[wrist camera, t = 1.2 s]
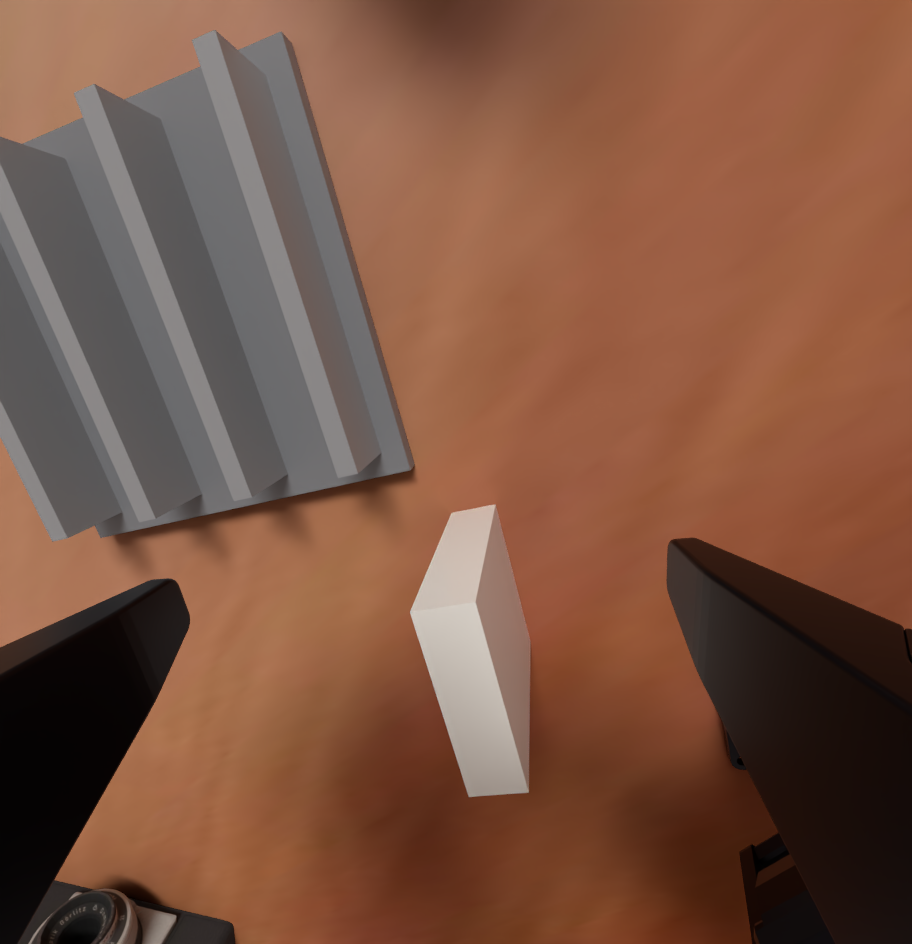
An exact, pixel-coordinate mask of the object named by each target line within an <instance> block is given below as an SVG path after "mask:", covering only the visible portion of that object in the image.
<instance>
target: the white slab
mask: <svg viewBox="0 0 912 944" xmlns="http://www.w3.org/2000/svg"><path fill="white" fill-rule="evenodd" d="M410 614H411V617H412V620H413V623H414V626H415V630H416V633H417V636H418V639H419V642H420V645H421V648H422V652H423V655H424V658H425V661H426V664H427V667H428V670H429V674H430V677H431V680H432V683H433V686H434V689H435V692H436V696H437V699H438V702H439V705H440V708H441V711H442V714H443V718H444V721H445V724H446V727H447V730H448V733H449V736H450V740H451V743H452V746H453V749H454V752H455V755H456V758H457V762H458V765H459V768H460V771H461V774H462V777H463V780H464V784H465V787H466V790H467V793H468V796H469V797H475V796H489V795H502V794H516V793H529V733H530V646H531V642H530V638H529V634H528V630H527V626H526V622H525V618H524V614H523V610H522V606H521V602H520V598H519V594H518V590H517V587H516V583H515V579H514V575H513V571H512V567H511V563H510V559H509V555H508V551H507V547H506V543H505V539H504V536H503V532H502V528H501V524H500V520H499V516H498V512H497V508H496V504H495V505H490V506H484V507H479V508H474V509H469V510H464V511H459V512H454V513H451V516H450V518H449V520H448V523H447V525H446V527H445V530H444V532H443V535H442V537H441V539H440V542H439V544H438V547H437V549H436V551H435V554H434V556H433V559H432V561H431V563H430V566H429V568H428V570H427V573H426V575H425V578H424V580H423V582H422V585H421V587H420V590H419V592H418V594H417V597H416V599H415V601H414V604H413V606H412V609H411V611H410Z"/></svg>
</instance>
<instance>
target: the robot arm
mask: <svg viewBox="0 0 912 944" xmlns="http://www.w3.org/2000/svg"><path fill="white" fill-rule="evenodd" d="M667 589H668V593H669V597H670V599H671V602H672V605H673V607H674V610H675V613H676V616H677V618H678V621H679V624H680V627H681V629H682V632H683V635H684V637H685V640H686V643H687V646H688V648H689V651H690V654H691V657H692V659H693V662H694V664H695V667H696V669H697V672H698V674H699V676H700V678H701V680H702V682H703V684H704V686H705V688H706V690H707V692H708V694H709V696H710V698H711V700H712V702H713V704H714V706H715V708H716V710H717V712H718V714H719V716H720V718H721V720H722V722H723V726H724V732H725V739H726V746H727V752H728V756H729V759H730V761H731V763H732V765H733V766H734V767H735V768H737V769H741V770H747V771H748V773H749V775H750V777H751V779H752V781H753V783H754V785H755V787H756V788H757V790H758V792H759V794H760V796H761V798H762V800H763V802H764V804H765V806H766V808H767V810H768V812H769V814H770V816H771V818H772V820H773V822H774V824H775V826H776V828H777V830H778V832H779V833H777V834H775V835H774V836H772V837H770V838H769V839H767V840H765V841H764V842H762V843H760V844H759V845H757V846H754V845H750V846H748V847H747V848H745V849H743V850H742V851H740V853H739V854H740V861H741V868H742V874H743V881H744V888H745V895H746V902H747V909H748V916H749V923H750V930H751V937H752V944H912V629H905V630H904V628H903V626H901V625H900V624H897V623H895V622H892V621H890V620H888V619H885V618H883V617H881V616H878V615H876V614H874V613H871V612H869V611H866V610H864V609H862V608H859V607H857V606H855V605H852V604H850V603H848V602H845V601H843V600H840V599H838V598H836V597H833V596H831V595H829V594H826V593H824V592H822V591H819V590H817V589H815V588H812V587H810V586H807V585H805V584H803V583H800V582H798V581H796V580H793V579H791V578H789V577H786V576H784V575H781V574H779V573H777V572H774V571H772V570H770V569H767V568H765V567H763V566H760V565H758V564H756V563H753V562H751V561H749V560H746V559H744V558H741V557H739V556H737V555H734V554H732V553H730V552H727V551H725V550H723V549H720V548H718V547H716V546H713V545H711V544H708V543H706V542H704V541H701V540H699V539H697V538H682V539H673V540H671V541H670V542H669V545H668V554H667ZM189 624H190V615H189V612H188V609H187V606H186V604H185V601H184V598H183V595H182V593H181V590H180V587H179V585H178V583H177V582H176V581H175V580H173V579H156V580H150V581H147V582H145V583H143V584H141V585H138V586H136V587H134V588H132V589H129V590H127V591H125V592H123V593H121V594H118V595H116V596H114V597H112V598H109V599H107V600H105V601H103V602H101V603H98V604H96V605H94V606H92V607H89V608H87V609H85V610H83V611H80V612H78V613H76V614H74V615H72V616H69V617H67V618H65V619H63V620H60V621H58V622H56V623H54V624H52V625H49V626H47V627H45V628H43V629H40V630H38V631H36V632H34V633H32V634H29V635H27V636H25V637H23V638H20V639H18V640H16V641H14V642H11V643H9V644H7V645H5V646H3V647H0V944H18V942H19V941H20V939H21V937H22V935H23V934H24V932H25V930H26V928H27V927H28V925H29V923H30V921H31V920H32V918H33V916H34V914H35V913H36V911H37V909H38V907H39V906H40V904H41V902H42V900H43V899H44V897H45V895H46V893H47V892H48V890H49V888H50V886H51V884H52V883H53V881H54V879H55V877H56V876H57V874H58V872H59V870H60V869H61V867H62V865H63V863H64V862H65V860H66V858H67V856H68V855H69V853H70V851H71V849H72V848H73V846H74V844H75V842H76V841H77V839H78V837H79V835H80V834H81V832H82V830H83V828H84V826H85V825H86V823H87V821H88V819H89V818H90V816H91V814H92V812H93V811H94V809H95V807H96V805H97V804H98V802H99V800H100V798H101V797H102V795H103V793H104V791H105V790H106V788H107V786H108V784H109V783H110V781H111V779H112V777H113V776H114V774H115V772H116V770H117V769H118V767H119V765H120V763H121V761H122V760H123V758H124V756H125V754H126V753H127V751H128V749H129V747H130V746H131V744H132V742H133V740H134V739H135V737H136V735H137V733H138V732H139V730H140V728H141V726H142V725H143V723H144V721H145V719H146V718H147V716H148V714H149V712H150V710H151V708H152V707H153V705H154V703H155V701H156V699H157V697H158V695H159V693H160V691H161V688H162V686H163V684H164V682H165V680H166V677H167V675H168V673H169V671H170V668H171V666H172V664H173V662H174V660H175V657H176V655H177V653H178V651H179V649H180V646H181V644H182V642H183V640H184V637H185V635H186V633H187V631H188V628H189ZM739 757H741V758H739Z"/></svg>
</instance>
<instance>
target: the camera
mask: <svg viewBox="0 0 912 944" xmlns="http://www.w3.org/2000/svg"><path fill="white" fill-rule="evenodd" d="M18 944H235V937H234V929H233V925H232V923H230V922H227V921H224V920H220V919H216V918H212V917H208V916H203V915H199V914H195V913H191V912H186V911H182V910H178V909H174V908H170V907H165V906H161V905H157V904H153V903H148V902H144V901H140V900H136V899H131V898H127V897H126V895H125V894H124V893H122V892H120V891H118V890H114V889H107V888H105V889H98V890H93V889H89V888H85V887H80V886H76V885H72V884H68V883H63V882H59V881H55V880H54V881H53V883H52V884H51V886H50V888H49V890H48V892H47V893H46V895H45V897H44V899H43V900H42V902H41V904H40V906H39V907H38V909H37V911H36V913H35V914H34V916H33V918H32V920H31V921H30V923H29V925H28V927H27V928H26V930H25V932H24V934H23V935H22V937H21V939H20V941H19V942H18Z"/></svg>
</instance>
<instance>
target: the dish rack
mask: <svg viewBox="0 0 912 944" xmlns="http://www.w3.org/2000/svg"><path fill="white" fill-rule="evenodd" d="M192 42H193V45H194V48H195V51H196V54H197V57H198V60H199V63H200V67H198V68H196V69H194V70H191V71H189V72H187V73H184V74H182V75H180V76H177V77H175V78H173V79H171V80H168V81H166V82H164V83H161V84H159V85H157V86H154V87H152V88H150V89H148V90H145V91H143V92H141V93H138V94H136V95H134V96H131V97H129V98H127V99H125V100H124V99H122V98H120V97H118V96H116V95H114V94H112V93H110V92H109V91H107V90H105V89H103V88H101V87H99V86H97V85H95V84H93V85H91V86H88V87H86V88H84V89H82V90H80V91H77V92H75V93H74V95H75V98H76V100H77V103H78V105H79V108H80V110H81V113H82V115H83V118H81V119H78V120H76V121H74V122H72V123H69V124H67V125H65V126H62V127H60V128H58V129H55V130H53V131H51V132H49V133H46V134H44V135H42V136H39V137H37V138H35V139H32V140H30V141H28V142H26V143H23V144H20V143H17V142H14V141H11V140H8V139H5V138H2V137H0V437H1V439H2V441H3V443H4V445H5V447H6V449H7V451H8V453H9V455H10V457H11V459H12V461H13V463H14V466H15V468H16V470H17V472H18V474H19V476H20V478H21V480H22V482H23V484H24V486H25V488H26V490H27V492H28V494H29V496H30V498H31V500H32V502H33V504H34V506H35V508H36V510H37V512H38V514H39V516H40V518H41V520H42V522H43V524H44V526H45V528H46V530H47V532H48V534H49V536H50V538H51V540H52V542H53V541H57V540H62V539H66V538H69V537H71V536H73V535H75V534H77V533H80V532H82V531H84V530H86V529H88V528H90V527H92V526H94V525H95V527H96V529H97V531H98V533H99V535H100V537H101V538H102V537H107V536H112V535H116V534H121V533H125V532H130V531H134V530H139V529H144V528H148V527H153V526H157V525H162V524H166V523H171V522H176V521H180V520H185V519H189V518H194V517H199V516H203V515H208V514H212V513H217V512H221V511H226V510H231V509H235V508H240V507H244V506H249V505H253V504H258V503H263V502H267V501H272V500H276V499H281V498H286V497H290V496H295V495H299V494H304V493H308V492H313V491H318V490H322V489H327V488H331V487H336V486H340V485H345V484H350V483H354V482H359V481H363V480H368V479H373V478H377V477H382V476H386V475H391V474H395V473H400V472H405V471H409V470H411V469H412V468H413V466H414V465H415V464H414V461H413V457H412V454H411V451H410V447H409V444H408V440H407V437H406V433H405V430H404V427H403V423H402V420H401V416H400V413H399V409H398V406H397V403H396V399H395V396H394V392H393V389H392V385H391V382H390V379H389V375H388V372H387V368H386V365H385V361H384V358H383V355H382V351H381V348H380V344H379V341H378V337H377V334H376V331H375V327H374V324H373V320H372V317H371V313H370V310H369V307H368V303H367V300H366V296H365V293H364V289H363V286H362V282H361V279H360V276H359V272H358V269H357V265H356V262H355V258H354V255H353V252H352V248H351V245H350V241H349V238H348V234H347V231H346V228H345V224H344V221H343V217H342V214H341V210H340V207H339V204H338V200H337V197H336V193H335V190H334V186H333V183H332V180H331V176H330V173H329V169H328V166H327V162H326V159H325V156H324V152H323V149H322V145H321V142H320V138H319V135H318V132H317V128H316V125H315V121H314V118H313V114H312V111H311V108H310V104H309V101H308V97H307V94H306V90H305V87H304V84H303V80H302V77H301V73H300V70H299V66H298V63H297V59H296V56H295V53H294V49H293V46H292V43H291V42H290V41H289V40H288V38H287V37H286V36H285V35H284V34H283V33H282V32H279V33H276V34H274V35H272V36H270V37H267V38H265V39H263V40H260V41H258V42H256V43H253V44H251V45H249V46H247V47H244V48H242V49H240V50H237V49H236V48H235V47H234V46H233V45H231V44H230V43H229V42H228V41H227V40H226V39H225V38H224V37H222V36H221V35H220V34H219V33H218V32H217V31H216V30H213V31H211V32H209V33H206V34H204V35H202V36H200V37H198V38H195V39H193V40H192Z"/></svg>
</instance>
